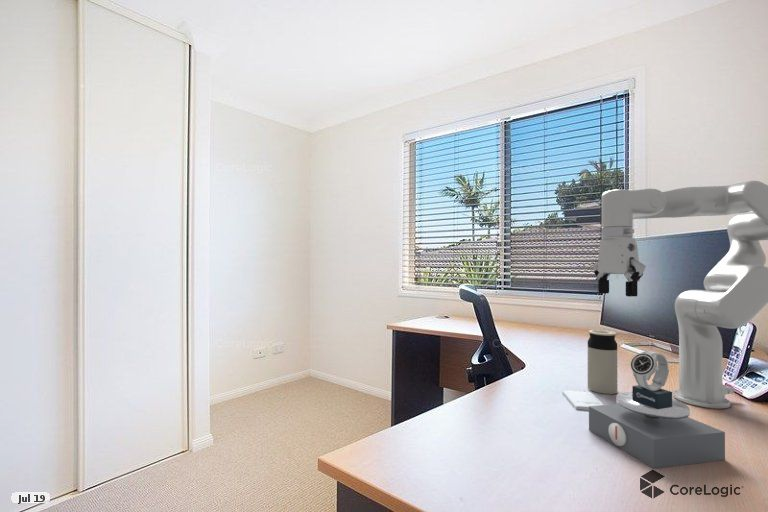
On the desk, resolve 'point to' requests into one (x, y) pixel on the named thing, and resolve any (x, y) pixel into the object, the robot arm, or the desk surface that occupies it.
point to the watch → (642, 372)
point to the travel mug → (602, 362)
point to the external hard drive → (581, 399)
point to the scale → (657, 437)
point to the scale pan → (672, 412)
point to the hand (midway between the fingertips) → (617, 294)
